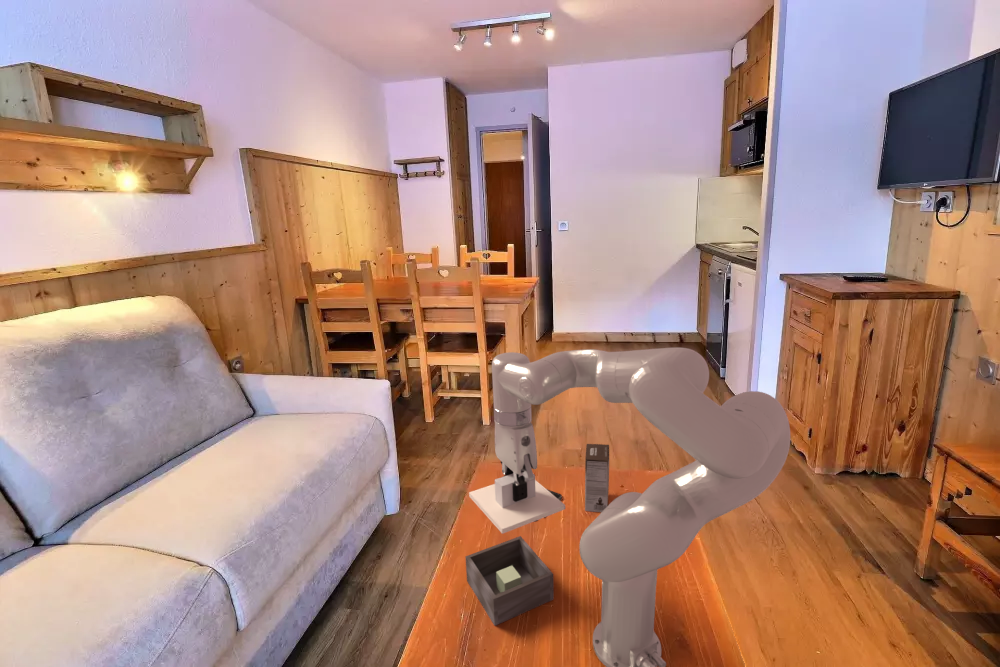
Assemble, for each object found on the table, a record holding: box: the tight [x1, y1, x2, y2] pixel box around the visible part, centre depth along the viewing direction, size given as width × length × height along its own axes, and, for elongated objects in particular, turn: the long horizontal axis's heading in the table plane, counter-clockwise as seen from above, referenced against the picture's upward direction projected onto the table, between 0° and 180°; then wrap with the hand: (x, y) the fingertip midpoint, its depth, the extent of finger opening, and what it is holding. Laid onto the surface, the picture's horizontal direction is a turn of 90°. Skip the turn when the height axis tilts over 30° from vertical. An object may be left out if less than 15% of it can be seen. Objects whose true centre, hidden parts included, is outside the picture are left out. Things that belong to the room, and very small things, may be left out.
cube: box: [496, 566, 521, 593], centre depth 107 cm, size 4×4×4 cm
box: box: [465, 535, 555, 626], centre depth 107 cm, size 14×14×7 cm
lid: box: [468, 473, 566, 534], centre depth 103 cm, size 15×15×6 cm
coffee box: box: [584, 443, 610, 513], centre depth 136 cm, size 9×6×16 cm
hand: (515, 494), depth 104 cm, fingers closed on lid, 3 cm apart
